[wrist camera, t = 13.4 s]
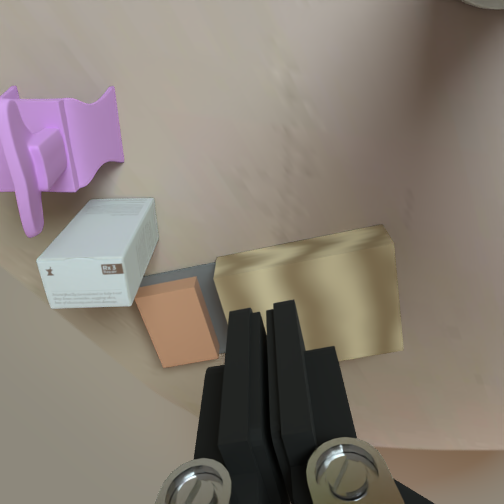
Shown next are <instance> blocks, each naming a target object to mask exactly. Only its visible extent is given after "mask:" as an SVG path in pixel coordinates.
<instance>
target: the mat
mask: <svg viewBox="0 0 504 504" xmlns="http://www.w3.org/2000/svg"><path fill="white" fill-rule="evenodd" d="M215 266H216V262H214V263H209V264H204V265H199V266H194V267H189V268H184V269H179V270H174V271H169V272H164V273H159V274H154V275H149V276H144V277H143V278H142V281H141V283H140V286H139V287H144V286H149V285H154V284H159V283H164V282H170V281H175V280H180V279H185V278H190V277H195V276H197V279H198V282H199V285H200V288H201V291H202V294H203V297H204V300H205V303H206V306H207V309H208V312H209V315H210V318H211V321H212V324H213V327H214V330H215V333H216V336H217V339H218V342H219V345H220V348H219V354H220V353H226V342H227V330H228V323H227V320H226V317H225V314H224V311H223V308H222V304H221V301H220V298H219V295H218V292H217V289H216V285H215V282H214V272H215Z"/></svg>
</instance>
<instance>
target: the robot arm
mask: <svg viewBox="0 0 504 504" xmlns="http://www.w3.org/2000/svg"><path fill="white" fill-rule="evenodd" d="M461 1H463V2H464V3H466V4H469V5H472V6H475V7H478V8H481V9H496V10H499V9H504V0H461ZM266 328H267V335H266V331H265V327H264V324H263V320H262V316H261V313H260V312H254V313H253V311H252V309H251V308H245V309H239V310H234V311H230V312H229V318H228V330H227V342H226V354H225V365H220V366H214V367H209V368H207V370H206V374H205V380H204V388H203V395H202V402H201V409H200V417H199V424H198V431H197V439H196V446H195V454H194V460H191V461H189V462H187V463H185V464H182V465H181V466H179V467H178V468H177V469H176V470H174V471H173V472H172V473H171V474H170V475H169V476H168V478H167V479H166V480H165V481H164V483H163V485H162V487H161V489H160V491H159V493H158V497H157V499H156V502H155V504H434V503H433V502H431V501H429V500H428V499H426V498H424V497H423V496H421V495H419V494H418V493H416V492H415V491H413V490H411V489H410V488H408V487H406V486H405V485H403V484H401V483H400V482H398V481H396V480H395V479H393V478H392V475H391V473H390V471H389V469H388V467H387V465H386V463H385V461H384V459H383V458H382V456H381V455H380V453H379V452H378V450H376V449H375V448H374V447H373V446H371V445H370V444H369V443H367V442H365V441H362V440H360V439H357V436H356V432H355V428H354V424H353V420H352V416H351V411H350V407H349V403H348V399H347V395H346V391H345V387H344V382H343V378H342V374H341V370H340V366H339V362H338V358H337V354H336V350H335V346H330V347H324V348H319V349H313V350H307V351H306V349H305V345H304V340H303V336H302V331H301V327H300V322H299V317H298V313H297V308H296V304H295V300H294V299H293V300H288V301H282V302H277V303H273V309H271V310H266ZM290 501H291V503H290Z"/></svg>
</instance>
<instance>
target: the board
mask: <svg viewBox="0 0 504 504" xmlns="http://www.w3.org/2000/svg"><path fill="white" fill-rule="evenodd" d="M214 282H215V285H216V289H217V292H218V295H219V298H220V301H221V304H222V308H223V311H224V314H225V317H226V320H227V323H228V318H229V312H230V311H234V310H239V309H245V308H251V309H252V311H253V313H254V312H260V313H261V316H262V320H263V324H264V327H265V331H266V335H267V328H266V310H271V309H273V303H277V302H282V301H288V300H293V299H294V300H295V304H296V308H297V313H298V317H299V322H300V327H301V331H302V336H303V340H304V345H305V349H306V351H307V350H313V349H319V348H324V347H330V346H335V350H336V354H337V358H338V361H343V360H349V359H355V358H361V357H367V356H373V355H379V354H385V353H391V352H396V351H402V350H404V349H403V338H402V327H401V315H400V304H399V293H398V281H397V270H396V259H395V248H394V243H393V241H392V239H391V238H390V236H389V234H388V233H387V231H386V229H385V228H384V226H383V225H382V224H381V225H376V226H371V227H366V228H361V229H356V230H351V231H346V232H341V233H336V234H331V235H326V236H321V237H316V238H311V239H306V240H301V241H296V242H291V243H286V244H281V245H276V246H271V247H266V248H261V249H256V250H251V251H246V252H241V253H236V254H231V255H226V256H221V257H217V259H216V266H215V272H214Z"/></svg>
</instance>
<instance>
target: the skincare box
mask: <svg viewBox="0 0 504 504" xmlns="http://www.w3.org/2000/svg"><path fill="white" fill-rule="evenodd" d="M158 239H159V235H158V226H157V219H156V210H155V201H154V198H127V199H91V200H89V201H88V203H87V204H86V205H85V206H84V207H83V208H82V209H81V210H80V211H79V213H78V214H77V215H76V216H75V217H74V218H73V219H72V220H71V222H70V223H69V224H68V225H67V226H66V227H65V228H64V229H63V230H62V232H61V233H60V234H59V235H58V236H57V237H56V238H55V239H54V240H53V242H52V243H51V244H50V245H49V246H48V247H47V248H46V249H45V251H44V252H43V253H42V254H41V255H40V256H39V257H38V258H37V260H36V261H37V265H38V269H39V272H40V276H41V279H42V282H43V286H44V289H45V292H46V296H47V299H48V302H49V304H50V307H51V309H61V308H89V307H123V306H131V305H132V303H133V301H134V298H135V296H136V294H137V291H138V289H139V286H140V283H141V281H142V278H143V276H144V274H145V271H146V269H147V266H148V264H149V261H150V259H151V257H152V254H153V252H154V249H155V247H156V244H157V242H158Z"/></svg>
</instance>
